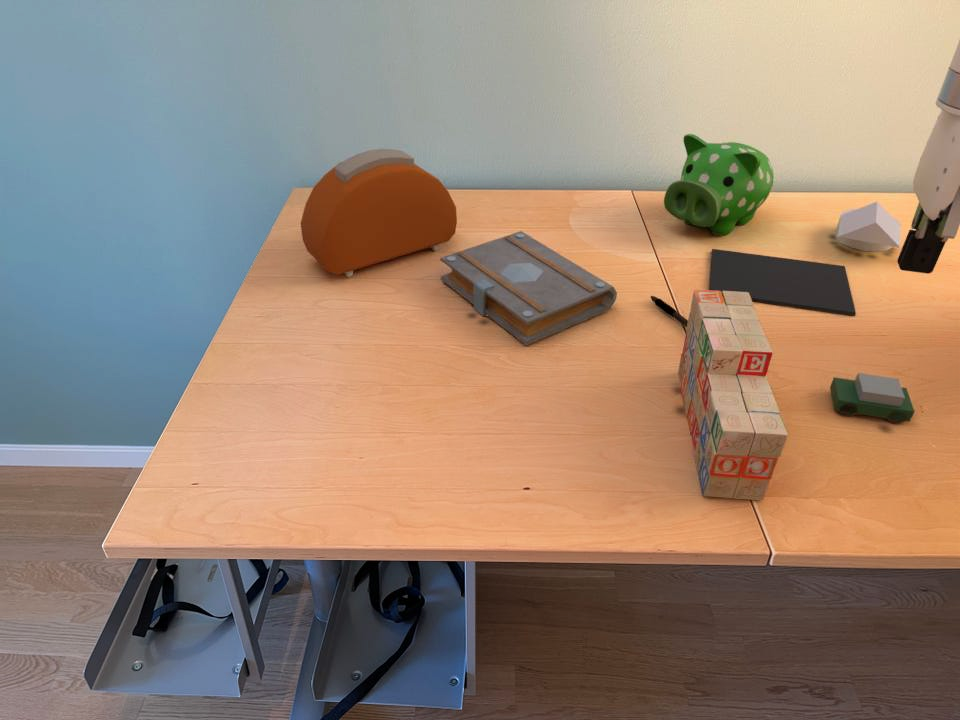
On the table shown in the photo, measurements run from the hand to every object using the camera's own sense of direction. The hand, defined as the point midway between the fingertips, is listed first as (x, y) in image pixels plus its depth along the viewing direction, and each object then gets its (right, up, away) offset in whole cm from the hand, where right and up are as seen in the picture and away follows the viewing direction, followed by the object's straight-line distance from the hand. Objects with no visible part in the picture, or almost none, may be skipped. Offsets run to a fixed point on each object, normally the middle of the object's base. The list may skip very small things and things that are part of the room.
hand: (913, 268), depth 75 cm
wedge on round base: (+17, +9, +41) cm, 45 cm away
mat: (-2, +2, +31) cm, 31 cm away
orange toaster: (-63, +7, +38) cm, 74 cm away
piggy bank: (-6, +14, +47) cm, 49 cm away
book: (-40, -1, +28) cm, 49 cm away
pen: (-19, -5, +22) cm, 29 cm away
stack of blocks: (-20, -18, +4) cm, 27 cm away
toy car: (0, -13, +8) cm, 15 cm away
